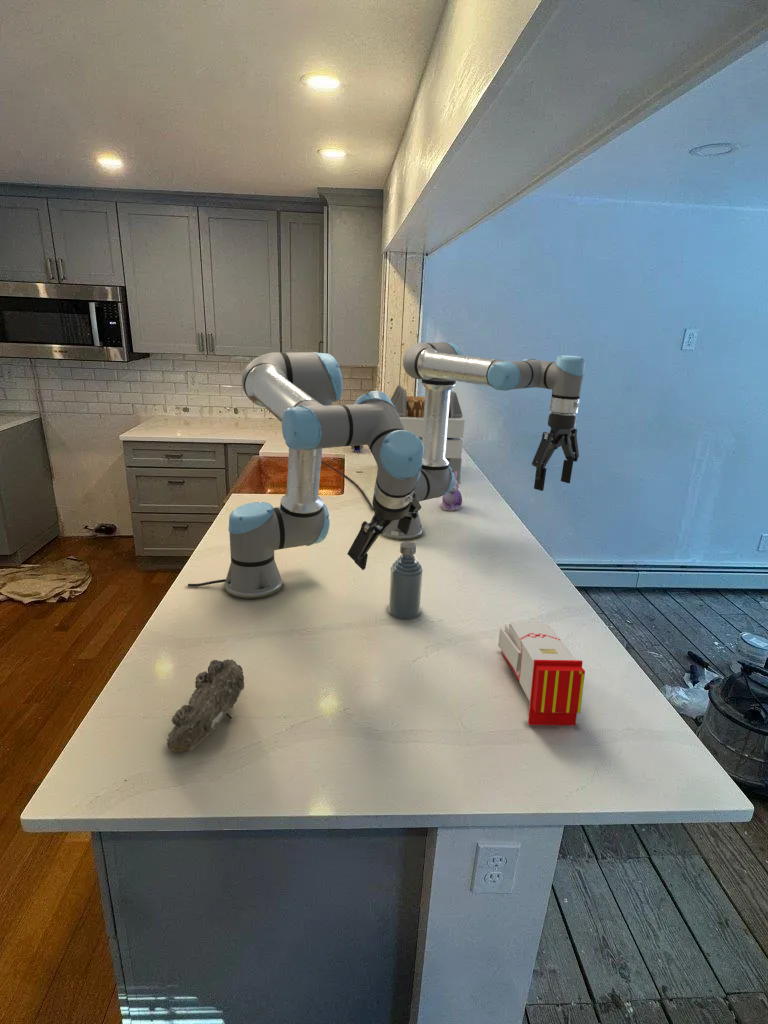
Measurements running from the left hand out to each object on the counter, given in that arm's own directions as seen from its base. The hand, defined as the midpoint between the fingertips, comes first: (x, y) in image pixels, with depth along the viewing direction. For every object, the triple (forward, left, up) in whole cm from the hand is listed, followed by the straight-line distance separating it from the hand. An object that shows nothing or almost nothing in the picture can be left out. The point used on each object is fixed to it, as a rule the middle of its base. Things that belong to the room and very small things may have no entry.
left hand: (381, 547), depth 128 cm
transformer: (-17, +148, -24) cm, 150 cm away
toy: (+36, -6, -24) cm, 44 cm away
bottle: (+3, +15, -24) cm, 29 cm away
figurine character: (-58, +180, -24) cm, 191 cm away
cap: (+3, +15, -5) cm, 16 cm away
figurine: (+4, +102, -24) cm, 105 cm away
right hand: (+38, +51, +4) cm, 64 cm away
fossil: (-23, -36, -24) cm, 49 cm away
